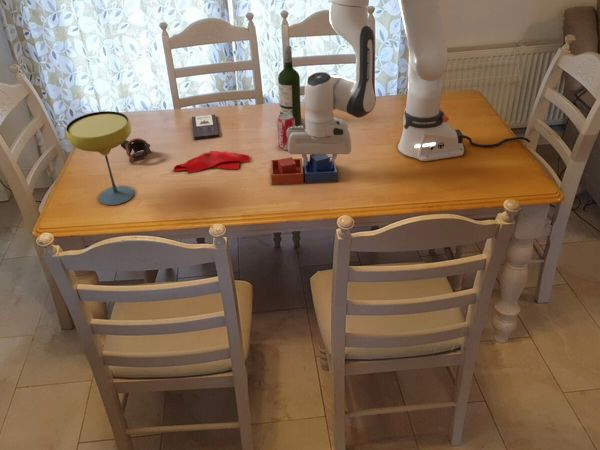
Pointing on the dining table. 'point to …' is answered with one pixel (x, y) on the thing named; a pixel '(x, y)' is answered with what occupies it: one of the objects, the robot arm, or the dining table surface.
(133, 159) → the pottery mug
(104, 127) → the cocktail glass
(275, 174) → the terracotta bin
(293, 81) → the wine bottle
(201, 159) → the cloth
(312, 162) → the blue block
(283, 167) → the red block
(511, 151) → the dining table surface
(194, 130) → the chocolate bar
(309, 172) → the blue bin
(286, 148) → the beverage can
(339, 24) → the robot arm
